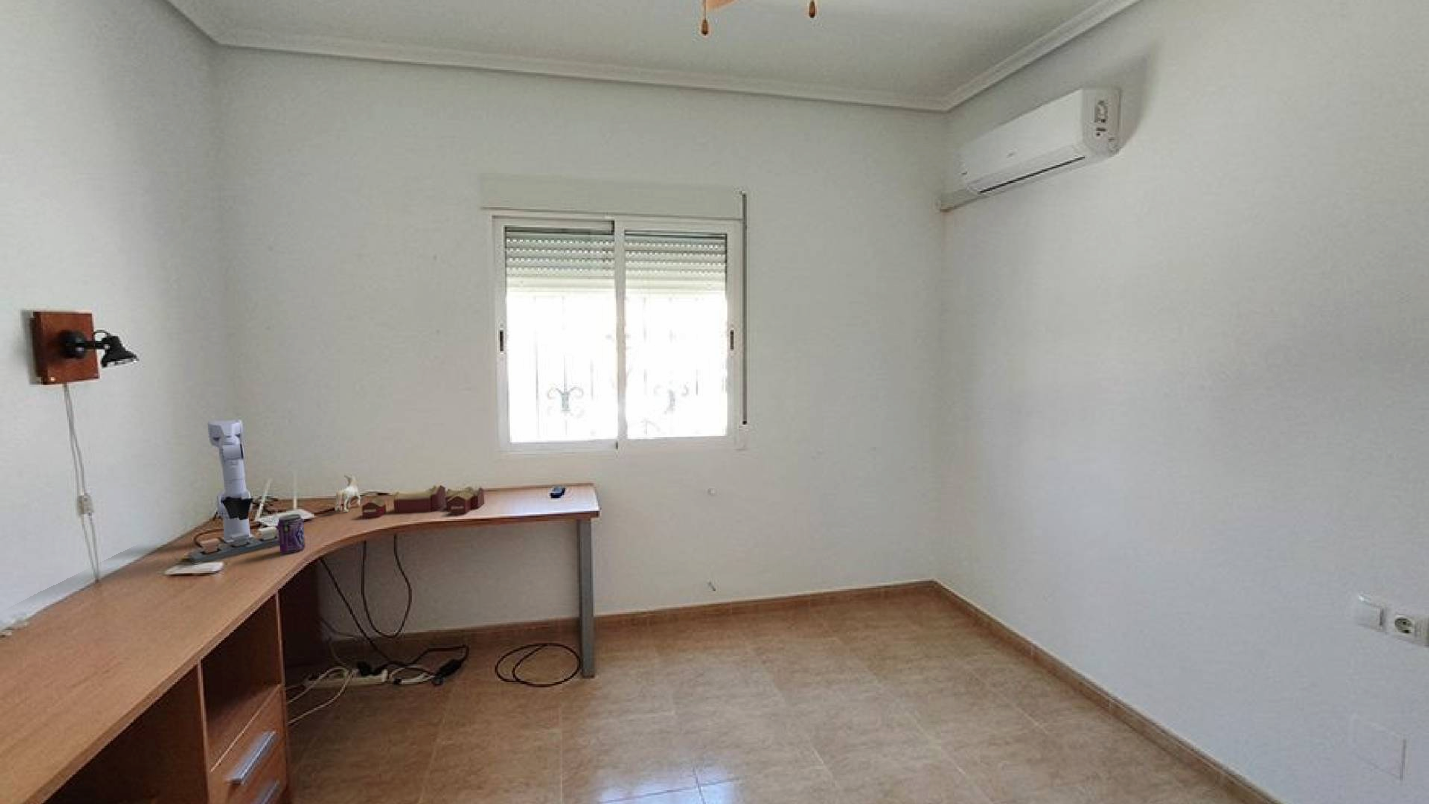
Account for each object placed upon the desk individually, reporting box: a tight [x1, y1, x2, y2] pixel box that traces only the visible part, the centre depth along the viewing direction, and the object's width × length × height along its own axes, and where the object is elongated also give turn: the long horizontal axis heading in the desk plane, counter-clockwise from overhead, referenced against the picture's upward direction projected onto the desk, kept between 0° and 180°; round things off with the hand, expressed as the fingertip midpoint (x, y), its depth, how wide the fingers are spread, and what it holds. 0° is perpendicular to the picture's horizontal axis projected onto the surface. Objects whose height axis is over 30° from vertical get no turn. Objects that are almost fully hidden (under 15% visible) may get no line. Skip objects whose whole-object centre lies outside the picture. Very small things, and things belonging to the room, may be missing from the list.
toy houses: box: [360, 484, 485, 519], centre depth 252 cm, size 45×20×10 cm, turn 95°
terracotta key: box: [199, 537, 221, 553], centre depth 201 cm, size 4×4×3 cm
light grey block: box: [230, 532, 249, 546], centre depth 207 cm, size 4×4×3 cm
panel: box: [187, 533, 280, 564], centre depth 208 cm, size 10×26×2 cm, turn 140°
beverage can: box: [277, 513, 306, 554], centre depth 205 cm, size 7×7×12 cm
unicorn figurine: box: [333, 474, 361, 513], centre depth 259 cm, size 7×20×13 cm, turn 18°
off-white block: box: [257, 525, 278, 540], centre depth 213 cm, size 4×4×3 cm
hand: (238, 519), depth 206 cm, fingers open, 7 cm apart
